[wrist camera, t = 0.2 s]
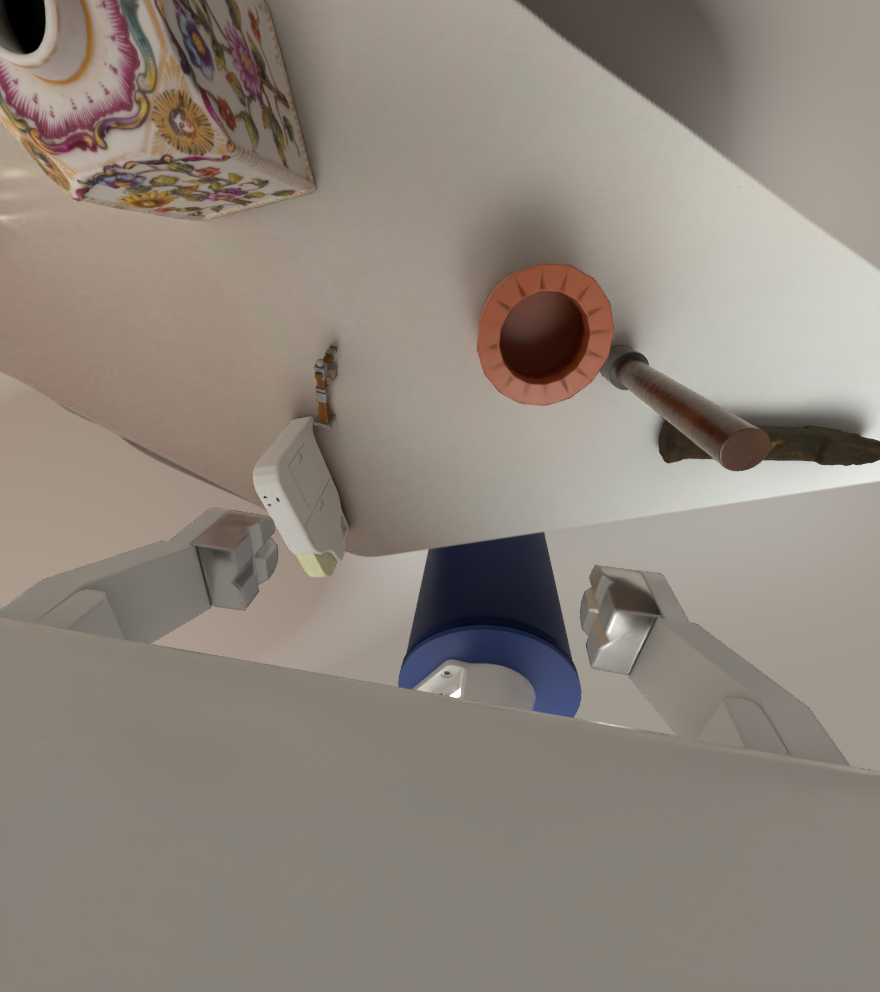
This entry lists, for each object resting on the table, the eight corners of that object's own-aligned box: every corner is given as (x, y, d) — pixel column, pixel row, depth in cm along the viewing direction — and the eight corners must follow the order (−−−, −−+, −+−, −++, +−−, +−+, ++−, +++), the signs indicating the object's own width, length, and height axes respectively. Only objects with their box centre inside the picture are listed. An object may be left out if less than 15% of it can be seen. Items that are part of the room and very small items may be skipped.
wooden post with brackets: (343, 340, 39) (326, 367, 37) (343, 403, 46) (329, 430, 43) (325, 335, 39) (306, 362, 36) (328, 398, 46) (312, 425, 43)
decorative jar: (131, 46, 31) (-227, -183, 16) (268, -3, 29) (15, -323, 14) (201, 228, 37) (-14, 194, 21) (320, 197, 35) (182, 134, 19)
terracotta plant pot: (520, 396, 41) (529, 429, 32) (459, 320, 38) (451, 334, 29) (603, 329, 37) (639, 346, 29) (543, 240, 35) (561, 229, 26)
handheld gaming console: (337, 522, 53) (290, 419, 45) (357, 520, 53) (313, 415, 44) (309, 589, 44) (243, 475, 36) (333, 587, 44) (272, 471, 35)
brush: (610, 386, 40) (726, 492, 20) (592, 360, 39) (695, 446, 20) (641, 364, 38) (794, 454, 19) (622, 337, 37) (765, 403, 18)
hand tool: (651, 451, 42) (668, 470, 38) (662, 413, 40) (682, 429, 36) (845, 463, 41) (884, 485, 37) (866, 425, 39) (910, 443, 35)
